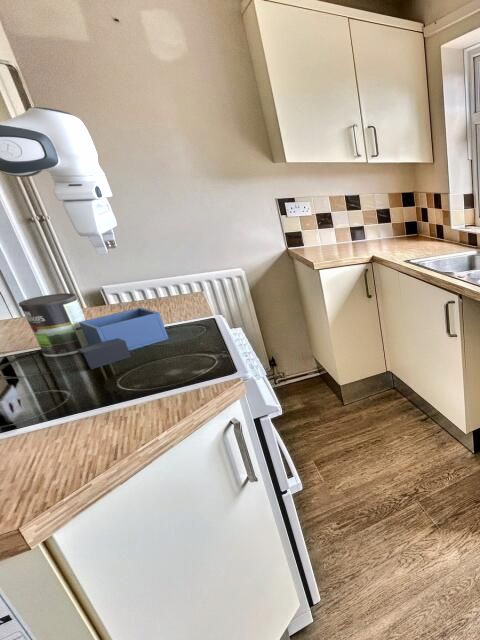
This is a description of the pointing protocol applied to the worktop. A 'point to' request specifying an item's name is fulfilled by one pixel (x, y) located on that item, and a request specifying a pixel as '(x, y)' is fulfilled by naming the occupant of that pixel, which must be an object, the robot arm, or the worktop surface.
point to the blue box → (126, 328)
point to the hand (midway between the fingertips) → (108, 251)
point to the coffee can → (56, 323)
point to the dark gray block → (104, 353)
